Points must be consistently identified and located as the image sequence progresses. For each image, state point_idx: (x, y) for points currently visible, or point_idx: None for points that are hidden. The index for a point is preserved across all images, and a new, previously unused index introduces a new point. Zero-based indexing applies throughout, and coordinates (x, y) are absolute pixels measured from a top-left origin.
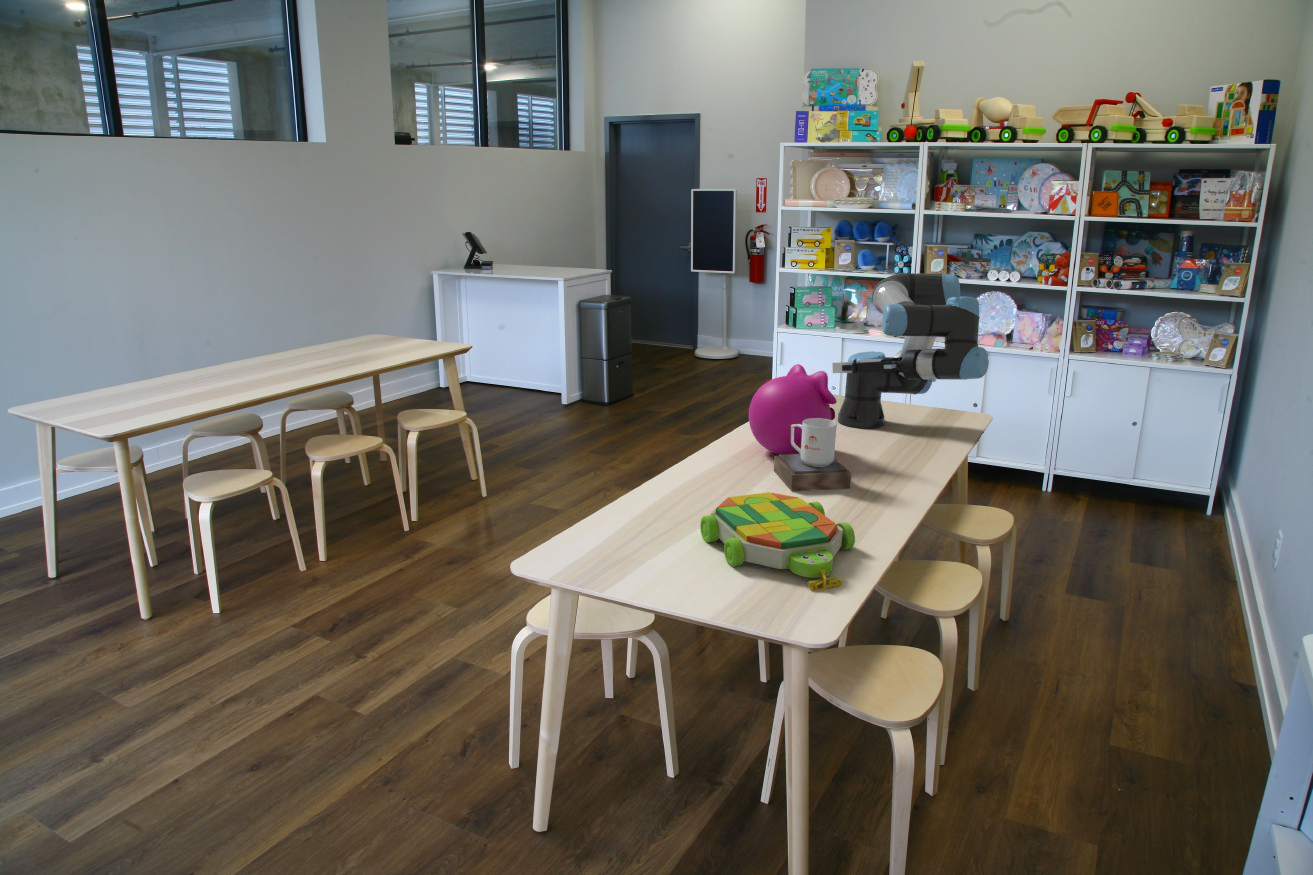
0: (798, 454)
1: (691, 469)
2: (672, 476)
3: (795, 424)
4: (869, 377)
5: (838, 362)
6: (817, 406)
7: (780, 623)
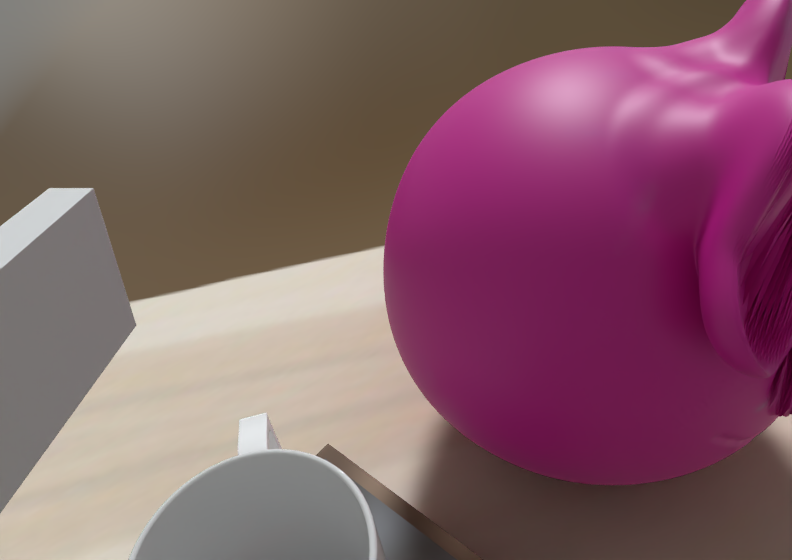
0: (387, 517)
1: (198, 308)
2: None
3: (262, 427)
4: None
5: (30, 230)
6: (587, 343)
7: None
